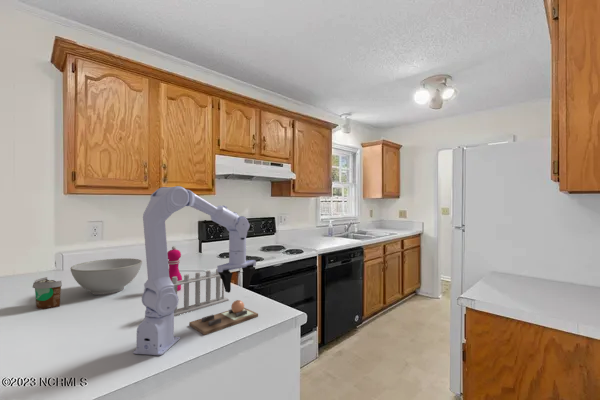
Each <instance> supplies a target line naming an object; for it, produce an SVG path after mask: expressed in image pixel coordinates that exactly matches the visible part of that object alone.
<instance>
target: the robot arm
mask: <svg viewBox="0 0 600 400" xmlns="http://www.w3.org/2000/svg"><path fill="white" fill-rule="evenodd" d="M185 207H190V208H193V209H194V210H195V209H196V210H197V211H199V212H202V213H204V214H206V215H208V216H210V219H211V221H212V222H214V223H216V224H218V225H219V226H222V227H224V228H226V231H228V232H229V235H228V236H229V237H228V239H229V240H228V250H229V251H228V252H229V253H228V262H227V263H224V264H219V265H217V267H216V269H217V271H218V273H219V275H220V277H221V282H222V281H223V284H224V293H225V292H226V293H231V290H232V289H231V288H232V287H231V286H232V285H231V284H232V283H231V282H232V277H233V273H234V272H233V273H232V272H231V271H233V270H237V269H241V270H242V274H243V287H244V288H246V289H249V288H250V283H251V280H252V278H253V275H254V273H255V271H256V266H257V260H255V259H249V260H247V236H248V231H249V229H250V226H251V223H249V220H248V219H247V218H246V216H244V215H239V214H238V212H235V211H232V210H230V209H228V206H227V205H217V206H215V205H214V204H212V203H210V201H207V200H206V199H204V198H202V197H200V196H199V195H197V194H196V193H194V192H193V191H192V190H190V189H186V188H185V187H183V186H180V185H179V186H178V185H177V186H176V185H175V186H168V187H167V186H164V187H163V186H162V187H160V188H157V189H156V190H155V191H154V192H153V193H152V194H150V200H149V202H148V203H147V206H146V208H145V210H144V212H143V214H142V222H143V234H144V235H143V236H144V245H145V246H144V247H145V249H144V250H145V260H146V270H147V274H146V275H147V280H146V281H145V282H144V284H143V286H144V287H143V289H144V290H143V293H142V294H141V302H142V305H143V306H144V307H145V312H144V318H143V320H142V321H141V322H140V323H139V324H138V326H137V328H136V347H135V348H136V349H134V350H133V352H132V353H133V354H136V355H148V356H149V355H150V356H152V355H153V356H162V355H163V354H165V353H166V352H167V351H168V350H169V349H170V348H172V347H173V345H175V344H176V343H177V342H178V341H179V340H180V339H181V337H180V336H174V333H175V326H174V325H175V316H174V310H175V309H176V307H177V308H178V305H179V302H180V301H179V296H178V293H177V294H176V293H175V290H174V285H173V283H172V281H171V279H170V277H169V264H168V243H167V241H168V240H167V232H166V231H167V229H166V220H168V219H169V218H170V217H171V216H172V215H173V214H174V213H176V212H177V211H180V210H181V209H183V208H185Z"/></svg>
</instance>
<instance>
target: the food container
mask: <svg viewBox="0 0 600 400" xmlns="http://www.w3.org/2000/svg"><path fill="white" fill-rule="evenodd" d="M62 286H63V284H62V280H55V279H51V280H50V279H48V276H46V277H41V278H37V279H35V280H34V282H33V285H32V288H33V289H34V292H35V293H34V294H35V308H36V309H37V310H49V309H56V308H60V305H61V293H62V292H61V290H62V289H61V288H62Z"/></svg>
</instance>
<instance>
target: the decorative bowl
mask: <svg viewBox="0 0 600 400" xmlns="http://www.w3.org/2000/svg"><path fill="white" fill-rule="evenodd" d="M142 264H143V261H142V260H141V259H140V258H139V259H138V258H130V257H129V258H123V257H122V258H108V259H107V258H105V259H97V260H90V261H85V262H81V263H77V264H75V265H72V266H71V267H69V268H70V272H71V275H72V276H73V278H74V281H75V282H76V283H77V284H78V285H79V286H80V287H82V288H83V289H85V290H88V291H90V293H91V294H92V295H111V294H115V293H119V292H121V291H123V290H124V289H125V287H126V286H128V285H129V284H130V283H131V282H133V280H134V279H135V278H136V276H137V275H138V274H139V271H140V270H141V267H142Z"/></svg>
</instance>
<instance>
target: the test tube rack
mask: <svg viewBox="0 0 600 400" xmlns="http://www.w3.org/2000/svg"><path fill="white" fill-rule="evenodd" d="M177 279H178V278H177V277H172V283H173V285H174V290H175V293H176V294H177V295H178V291H177V285H181V286H182V285H183V307H180V308H178V306H177V307H176V309H175V310H174V317H178V316H181V315H185V314H187V312H188V313H191V311H192V312H195V311H198V310H201V309H205V308H208V307H212V306H215V305H219V304H221V303H223V304H224V303H226V302H230V299H229V298H228V297H225V288H224V284H223V281H222V279H221V277H220V275H219V273H218V271H217V268H216V270H215V273H212V272H211V270H209V269H208V270H206V271H205V275H201V272H199V271H197V272H195V277H193V278H191V277H190V274H188V273H187V274H184V276H183V279H182V280H180V281H177ZM211 279H215V298H212V299H211V293H212V292H211V291H212V290H211V289H212V288H211V286H212V285H211V284H212V283H211V281H212V280H211ZM201 281H205V301H202V302H201ZM190 283H195V284H194V285H195V288H194V289H195V291H194V295H195V296H194V303H195V304H191V305H190ZM184 313H185V314H184ZM180 314H181V315H180ZM177 315H178V316H177Z"/></svg>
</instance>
